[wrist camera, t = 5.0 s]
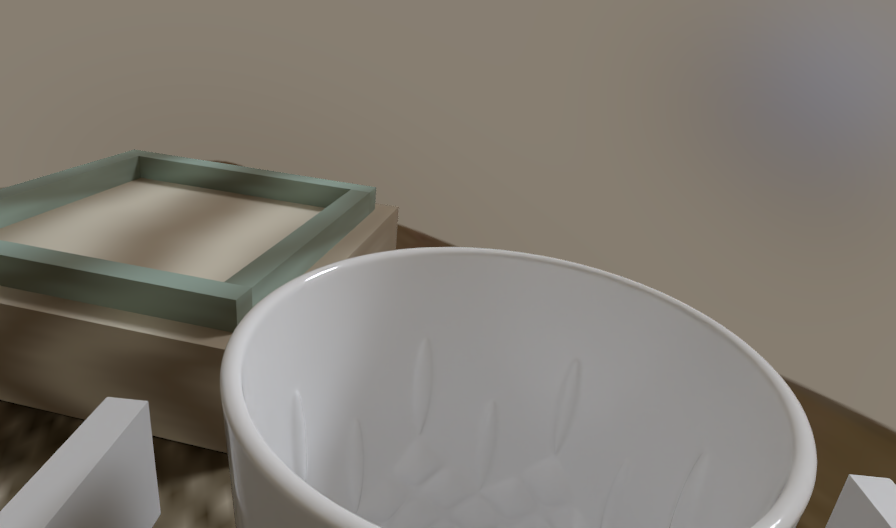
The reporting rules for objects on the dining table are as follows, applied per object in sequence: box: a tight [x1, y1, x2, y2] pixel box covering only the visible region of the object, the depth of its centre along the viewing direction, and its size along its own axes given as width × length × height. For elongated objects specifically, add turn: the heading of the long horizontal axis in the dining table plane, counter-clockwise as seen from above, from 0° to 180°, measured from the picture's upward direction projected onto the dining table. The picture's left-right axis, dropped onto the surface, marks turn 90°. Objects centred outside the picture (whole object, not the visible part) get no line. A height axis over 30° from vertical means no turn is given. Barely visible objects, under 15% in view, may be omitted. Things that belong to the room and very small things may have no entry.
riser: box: [0, 150, 399, 453], centre depth 28 cm, size 16×16×5 cm
